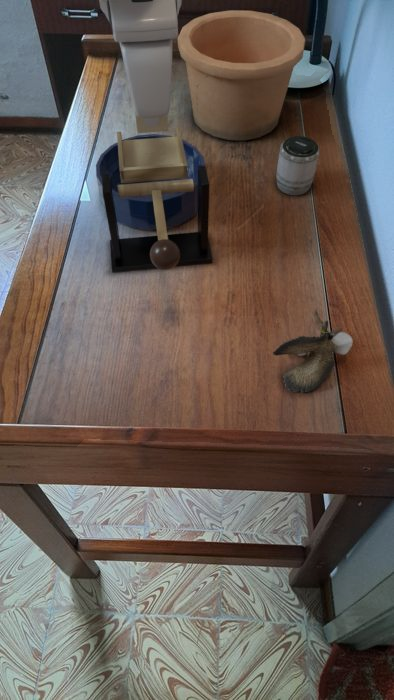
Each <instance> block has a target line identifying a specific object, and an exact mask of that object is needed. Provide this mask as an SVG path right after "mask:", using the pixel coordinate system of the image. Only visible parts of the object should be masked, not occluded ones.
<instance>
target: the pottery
mask: <svg viewBox="0 0 394 700" xmlns="http://www.w3.org/2000/svg"><path fill="white" fill-rule="evenodd" d="M177 47H178V51H179V55H180V58H181V59H182V60H183V61H184V62H185V64H186V71H187V79H188V86H189V94H190V100H191V106H192V117H193V120H194V123H195V124H196V125H197V126H198V127H199V129H201V130H202V131H203V132H204V133H206V134H209V135H210V136H212V137H214V138H218V139H222V140H226V141H242V142H243V141H249V140H255V139H259V138H261V137H263V136H265V135H267V134H269V133H271V132H272V131H273V130H274V129H275V128H276V127H277V126H278V124H279V119H280V117H281V113H282V109H283V105H284V102H285V98H286V96H287V93H288V90H289V89H288V88H289V84H290V82H291V78H292V75H293V71H294V68H295V67H296V65H298V64H299V62H300V61H301V60H302V59H303V56H304V52H305V47H306V37H305V36H304V34H303V33H302V31H301V29H300V28H299V27H297V26H296V25H295V24H294V23H292V22H291V21H289V20H287V19H285V18H282V17H279V16H276V15H273V14H271V13H267V12H260V11H254V10H235V9H234V10H233V9H230V10H222V11H217V12H216V11H215V12H210V13H207V14H204V15H201V16H198V17H196V18H193V19H192V20H190V21H189V22H187V24H185V25H184V26H182V28H181V30H180V33H178V36H177Z"/></svg>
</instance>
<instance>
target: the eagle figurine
mask: <svg viewBox="0 0 394 700" xmlns="http://www.w3.org/2000/svg"><path fill="white" fill-rule="evenodd" d="M313 317H314V319H315V321H316V324H317V325H318V330H319V333H320V334H319V336H314V335H313V336H305V335H301V336H300V335H299V336H298V337H295V338H292V339H290V340H287V341H285V342H283V343H282V344H280V345H279V346H278V347H276V348H275V350H274V351H272V354H273V356H276V357H277V356H286V355H288V356H298V357H302V356H306V358H305V360H304V361H302V362H301V363H300V364H299V365H298V366H296V367H295V368H293V369H292V370H290V371H288V372H286V373H285V374H284V375H283V376H282V378H283V383H284V387H285V388H286V389H287V390H288V391H291V392H292V391H293V392H294V393H298V392H300V393H302V394H303V393H309V392H312V391H314V390H316V388H319V386H320V384H322V383H323V382H324V379H326V378H327V377H328V376H329V374H331V373H332V371H333V369H334V367H335V361H334V357H333V356H334V353H335V354H339V355H341V356H342V355H343V356H345V355H347V354H348V353H349V352H350V350H351V348H352V347H353V343H354V340H353V337H352V335H350V334H349V333H347V332H345V331H342V330H343V329H342V328H338V329H336V330H333V331H328V328H329V321H328V320H325V321H322V320H321V318H320V316H319V313H318V311H317V309H315V308H314V309H313Z"/></svg>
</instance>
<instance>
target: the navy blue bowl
mask: <svg viewBox="0 0 394 700" xmlns="http://www.w3.org/2000/svg"><path fill="white" fill-rule="evenodd" d="M164 137H174V136H172V135H167V134H159V133H150V134H137V135H134V136H130V137H127V138H124V139H123V138H122V141H123V140H137V139H150V138H164ZM182 141H183V146H184V151H185V156H186V161H187V171H188V178H180V179H167V180H155V181H143V182H130V183H121V176H120V167H119V154H118V141H117V142H115V143H113V144H111V145H110V146H109V147H108V148H107V149H106V150H104V151H103V152H102V153H101V154H100V156H99V158H98V160H97V162H96V164H95V176H96V177H95V178H96V182H97V186H98V192H99V199H100V203H101V205H102V207H103V209H104V211H105V212H106V209H105V203H104V198H103V190H102V174H105V173H109V174H110V180H111V187H112V193H113V199H114V205H115V211H116V218H117V223H119V224H122V225H125V226H127V227H129V228H133V229H139V230H146V231H153V230H157V229H156V221H155V213H154V206H153V198H152V195H144V196H132V197H119V195H118V185H123V184H135V183H148V182H160V181H172V180H184V179H193V183H194V191H192V192H180V193H168V194H162V201H163V208H164V214H165V221H166V228H167V229H169V228H173V227H175V226H178V225H182V224H183V223H185V222H186V221H188V220H190V219H191V218H193V217H194V216H196V214H198V166H205V167H206V168H207V166H206V160H205V157H204V155H203V154H202V153H201V152H200V150H199V149H198V147H197V146H195V145H193V144H192V143H190V142H188V141H187V140H185V139H182Z"/></svg>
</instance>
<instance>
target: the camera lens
mask: <svg viewBox="0 0 394 700" xmlns="http://www.w3.org/2000/svg"><path fill="white" fill-rule="evenodd" d="M320 150H321V149H320V146H319V145H318V143H317V142H316V141H315V140H314V139H312V138H310V137H307V136H303V135H295V136H290V137H288V138H286V139H285V140H284V141H282V143H281V144H280V148H279V153H278V154H279V155H278V161H277V169H276V186H277V188H278V190H279V191H281V192H282V193H284V194H286V195H290V196H300V195H304V194H305V193H307V192H308V191H309V190H310V187H311V186H312V185H313V181H314V179H315V174H316V170H317V166H318V162H319V161H318V160H319V155H320Z"/></svg>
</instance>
